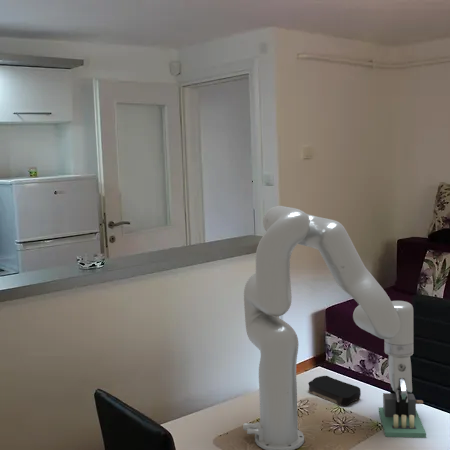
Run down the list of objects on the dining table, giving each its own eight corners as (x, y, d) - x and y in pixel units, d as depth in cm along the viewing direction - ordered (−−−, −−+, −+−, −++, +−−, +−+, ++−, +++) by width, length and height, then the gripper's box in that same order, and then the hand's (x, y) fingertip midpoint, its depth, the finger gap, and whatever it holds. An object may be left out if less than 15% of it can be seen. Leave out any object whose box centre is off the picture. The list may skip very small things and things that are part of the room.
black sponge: (364, 400, 176) (364, 388, 176) (344, 409, 171) (344, 396, 171) (323, 385, 189) (323, 374, 189) (304, 392, 184) (304, 381, 184)
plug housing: (385, 416, 162) (385, 399, 161) (383, 410, 166) (383, 393, 165) (424, 417, 161) (424, 399, 160) (421, 411, 165) (421, 393, 164)
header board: (385, 436, 153) (385, 420, 153) (378, 411, 168) (378, 396, 168) (426, 437, 152) (426, 421, 152) (415, 412, 167) (415, 397, 166)
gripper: (419, 358, 152) (419, 422, 154) (407, 337, 169) (408, 395, 171) (388, 358, 153) (389, 422, 155) (380, 337, 170) (381, 395, 172)
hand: (399, 407), depth 163 cm, fingers open, 9 cm apart
